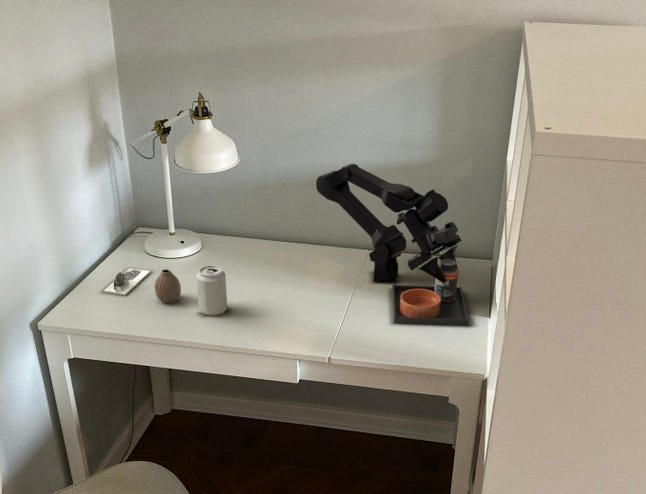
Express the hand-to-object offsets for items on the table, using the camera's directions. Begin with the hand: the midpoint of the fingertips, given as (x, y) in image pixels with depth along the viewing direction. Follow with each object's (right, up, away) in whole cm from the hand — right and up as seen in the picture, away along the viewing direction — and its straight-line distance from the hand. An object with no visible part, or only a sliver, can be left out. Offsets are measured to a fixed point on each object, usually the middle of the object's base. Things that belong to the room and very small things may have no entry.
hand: (451, 278), depth 214 cm
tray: (-6, -8, 0) cm, 10 cm away
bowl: (-9, -9, -1) cm, 13 cm away
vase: (-77, -6, +1) cm, 77 cm away
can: (-64, -9, -3) cm, 65 cm away
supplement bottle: (-1, -5, +4) cm, 7 cm away
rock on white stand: (-90, 0, +10) cm, 91 cm away
